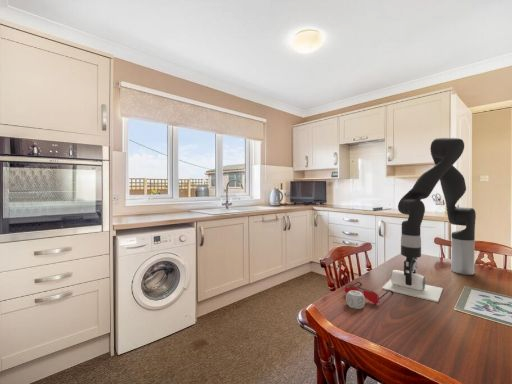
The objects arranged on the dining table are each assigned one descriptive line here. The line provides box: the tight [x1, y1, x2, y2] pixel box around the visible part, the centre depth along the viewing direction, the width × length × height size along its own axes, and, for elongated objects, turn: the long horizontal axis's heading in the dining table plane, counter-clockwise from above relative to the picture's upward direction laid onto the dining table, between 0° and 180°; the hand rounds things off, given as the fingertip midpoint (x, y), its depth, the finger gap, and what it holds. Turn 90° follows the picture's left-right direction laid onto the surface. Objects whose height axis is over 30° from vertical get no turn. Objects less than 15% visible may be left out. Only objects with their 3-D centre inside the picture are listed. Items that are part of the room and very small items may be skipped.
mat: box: [381, 278, 444, 303], centre depth 111 cm, size 16×20×1 cm
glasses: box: [343, 281, 394, 305], centre depth 107 cm, size 14×16×5 cm
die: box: [345, 290, 366, 310], centre depth 96 cm, size 5×5×5 cm
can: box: [390, 269, 426, 290], centre depth 112 cm, size 6×6×12 cm
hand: (410, 282), depth 111 cm, fingers open, 8 cm apart
